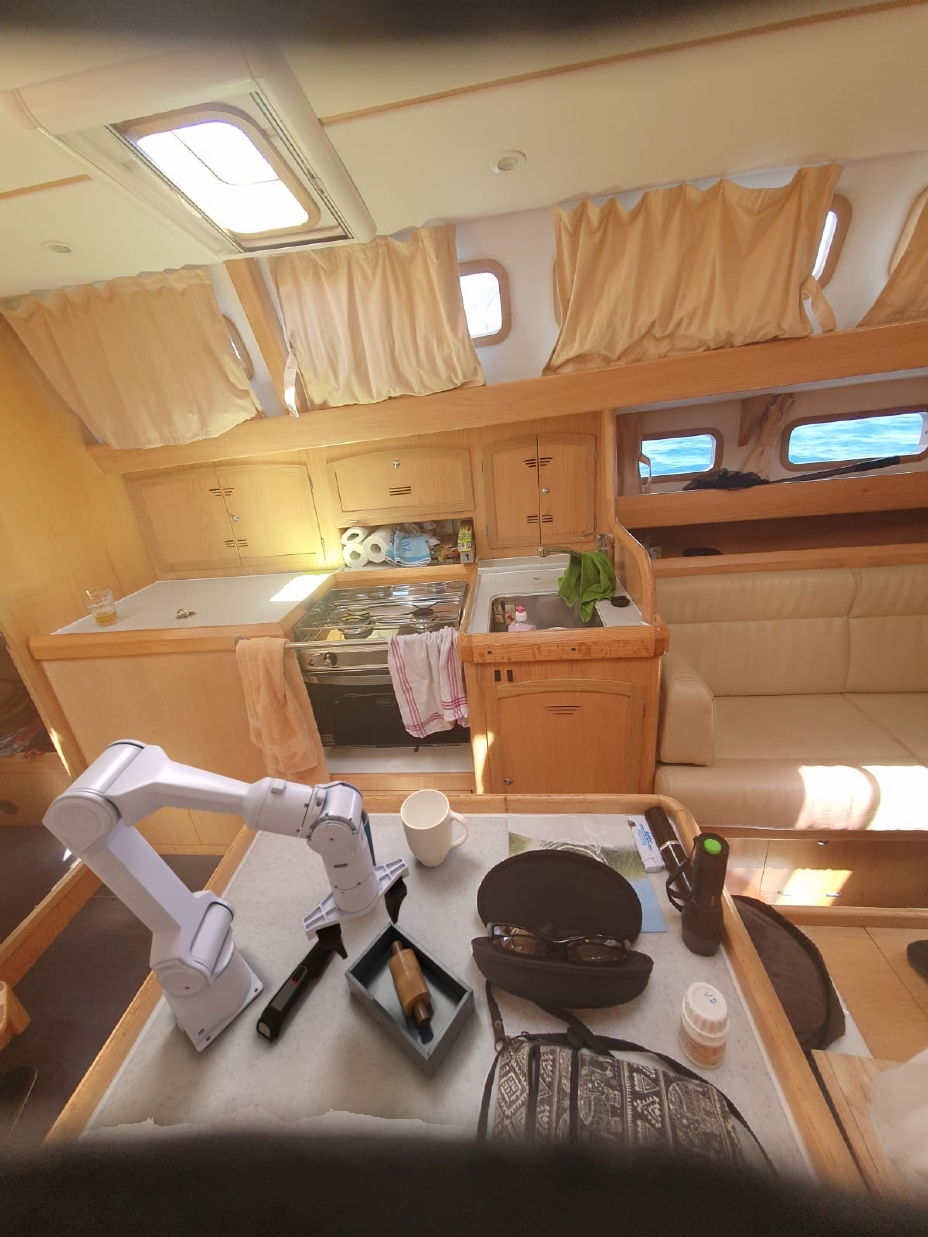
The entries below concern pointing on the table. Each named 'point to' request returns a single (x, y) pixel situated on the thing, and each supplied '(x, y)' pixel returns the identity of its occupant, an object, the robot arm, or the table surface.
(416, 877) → the table surface
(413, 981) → the rolling pin
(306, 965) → the electric trimmer
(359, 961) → the tin
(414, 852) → the mug
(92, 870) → the robot arm
